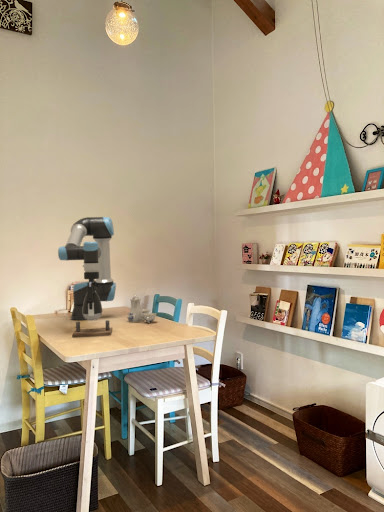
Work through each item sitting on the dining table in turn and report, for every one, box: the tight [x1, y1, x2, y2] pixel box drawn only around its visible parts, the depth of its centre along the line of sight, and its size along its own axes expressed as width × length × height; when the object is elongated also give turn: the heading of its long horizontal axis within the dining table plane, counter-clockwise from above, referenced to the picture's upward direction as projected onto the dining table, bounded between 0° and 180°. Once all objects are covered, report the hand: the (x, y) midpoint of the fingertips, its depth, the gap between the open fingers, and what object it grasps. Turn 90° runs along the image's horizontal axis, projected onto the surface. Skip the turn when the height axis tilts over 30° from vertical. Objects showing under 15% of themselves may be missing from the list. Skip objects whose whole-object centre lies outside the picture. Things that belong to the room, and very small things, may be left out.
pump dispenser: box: [82, 291, 103, 321], centre depth 208 cm, size 10×10×15 cm
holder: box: [71, 319, 113, 338], centre depth 209 cm, size 13×19×6 cm
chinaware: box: [126, 294, 158, 324], centre depth 245 cm, size 28×17×17 cm, turn 24°
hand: (92, 314), depth 209 cm, fingers closed on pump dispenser, 10 cm apart
